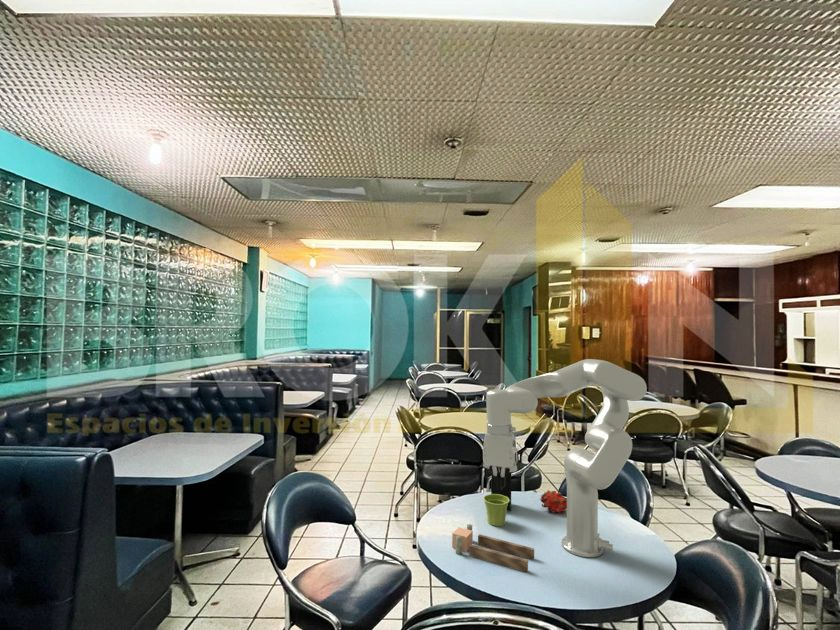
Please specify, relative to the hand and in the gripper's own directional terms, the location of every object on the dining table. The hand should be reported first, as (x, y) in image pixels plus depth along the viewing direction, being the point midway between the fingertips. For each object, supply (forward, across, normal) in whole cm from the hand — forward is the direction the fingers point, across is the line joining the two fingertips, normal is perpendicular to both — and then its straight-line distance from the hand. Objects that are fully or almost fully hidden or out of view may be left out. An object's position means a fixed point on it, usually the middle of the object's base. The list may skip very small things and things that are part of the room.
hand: (500, 488), depth 133 cm
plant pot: (+21, +9, -21) cm, 31 cm away
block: (+20, +14, +1) cm, 25 cm away
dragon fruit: (+22, -8, -43) cm, 49 cm away
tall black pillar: (+22, +12, -36) cm, 44 cm away
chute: (+21, +2, +1) cm, 21 cm away
